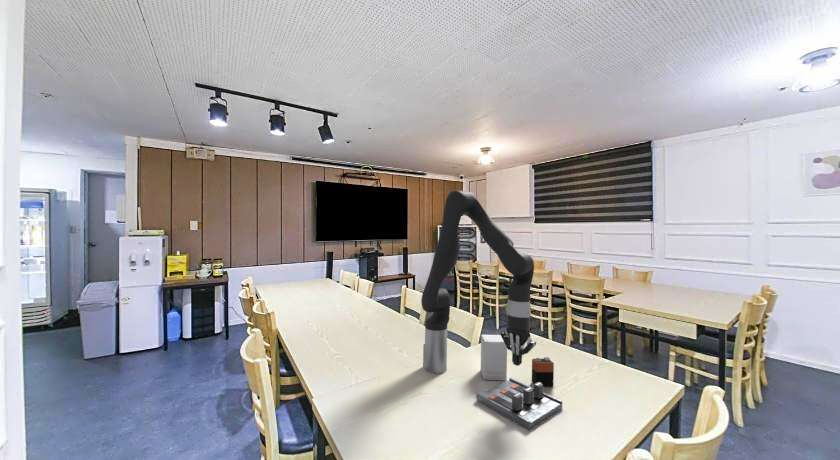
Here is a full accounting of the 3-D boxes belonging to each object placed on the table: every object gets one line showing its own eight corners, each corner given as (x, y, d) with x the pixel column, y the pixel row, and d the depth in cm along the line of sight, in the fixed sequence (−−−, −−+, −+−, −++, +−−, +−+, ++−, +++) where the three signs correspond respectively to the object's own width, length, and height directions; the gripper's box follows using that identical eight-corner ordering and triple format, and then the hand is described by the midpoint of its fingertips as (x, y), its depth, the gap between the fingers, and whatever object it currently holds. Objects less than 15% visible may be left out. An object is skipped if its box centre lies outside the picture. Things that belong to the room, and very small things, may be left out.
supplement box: (507, 381, 122) (507, 342, 122) (483, 380, 122) (484, 341, 122) (502, 370, 131) (502, 334, 131) (480, 370, 131) (480, 333, 131)
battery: (553, 387, 118) (554, 360, 118) (536, 387, 117) (536, 360, 117) (548, 381, 122) (548, 355, 122) (531, 382, 122) (531, 356, 122)
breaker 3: (533, 396, 106) (533, 383, 106) (537, 393, 108) (537, 381, 108) (538, 398, 105) (539, 386, 105) (543, 396, 106) (543, 383, 106)
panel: (476, 400, 107) (476, 393, 107) (510, 384, 119) (510, 377, 119) (528, 431, 91) (528, 422, 92) (562, 409, 103) (562, 401, 103)
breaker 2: (523, 401, 102) (523, 389, 102) (527, 399, 104) (527, 386, 104) (528, 404, 101) (528, 391, 101) (533, 402, 102) (533, 389, 102)
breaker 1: (511, 408, 99) (511, 394, 99) (516, 405, 100) (516, 392, 100) (517, 411, 97) (517, 397, 97) (522, 408, 99) (522, 394, 99)
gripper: (495, 310, 109) (493, 360, 109) (529, 320, 98) (527, 375, 99) (508, 307, 113) (507, 355, 114) (542, 316, 103) (541, 369, 103)
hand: (516, 364), depth 106 cm, fingers closed
